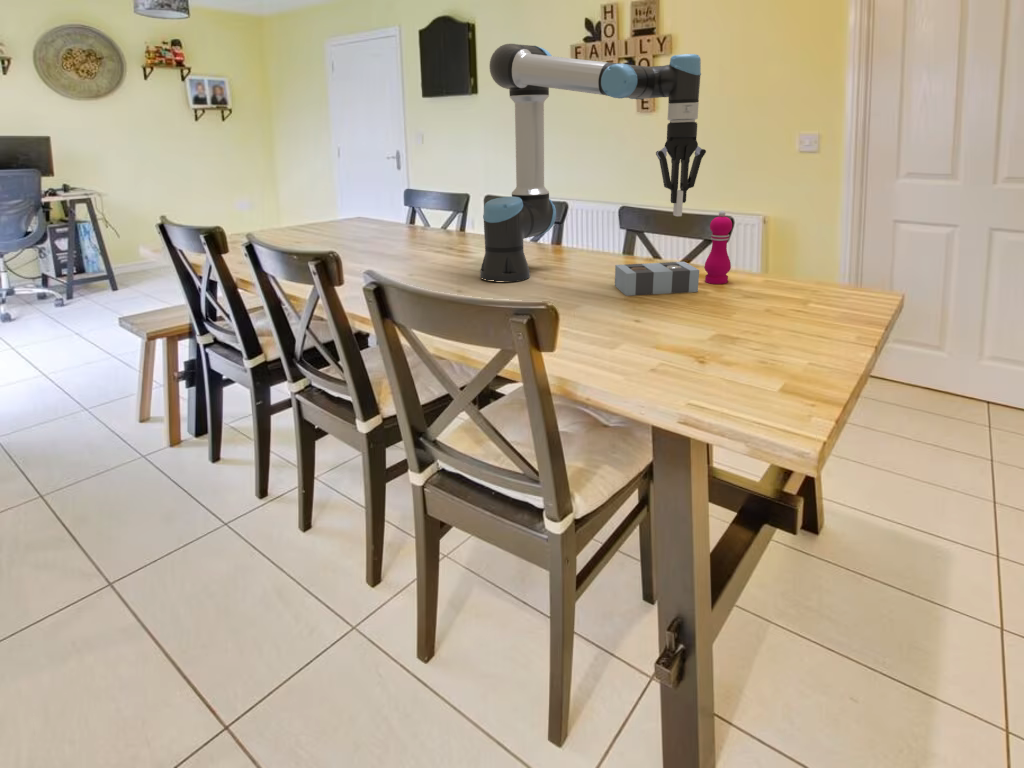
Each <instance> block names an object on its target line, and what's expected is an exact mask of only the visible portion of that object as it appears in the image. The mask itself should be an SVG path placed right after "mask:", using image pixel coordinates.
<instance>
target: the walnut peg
mask: <svg viewBox="0 0 1024 768" xmlns="http://www.w3.org/2000/svg"><path fill="white" fill-rule="evenodd" d="M631 270H646V268H644V267H633V268H631Z"/></svg>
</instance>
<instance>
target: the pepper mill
mask: <svg viewBox="0 0 1024 768" xmlns="http://www.w3.org/2000/svg"><path fill="white" fill-rule="evenodd" d="M732 229H733V222H732V220H731V219H730V218H729V217H728V216H726V211H725V210H720V211H718V216H717V217H714V218H713V219H712V220H711V222H710V223H709V230H710V231H711V233H712V234H710V240H711V249H710V252H709V255H708V256H707V258H706V260H705V263H704V270H705V271H706V273H707V274H706V275H705V278H704V281H705V283H707V284H712V285H722V284H727V283H728V281H729V276H728V275H727V274H728V273H729V272H730V270H731V267H732V265H731V264H732V263H731V259H730V256H729V254H728V250H727V249H728V247H727V246H728V241H729V240H730V234H729V233H730V232H731V231H732Z"/></svg>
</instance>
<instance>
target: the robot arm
mask: <svg viewBox="0 0 1024 768" xmlns="http://www.w3.org/2000/svg"><path fill="white" fill-rule="evenodd" d="M489 59H490V61H489V73H490V76H491V78H492V80H493V82H495V84H496V85H498V86H499V87H500V88H503V89H506V90H509V98H510V100H511V101H512V102H513V103H514V122H515V123H514V126H515V127H514V129H515V132H514V134H515V173H516V174H515V178H516V179H515V181H516V187H515V189H514V190H513V191H512V192H511V196H502V197H497V198H492V199H490V200H487V202H485V204H484V205H483V214H482V216H483V217H482V218H483V232H484V250H485V251H484V256H483V260H482V263H481V268H480V270H479V272H480V273H479V274H480V279H481V278H483V279H486V280H494V281H516V282H518V281H517V280H522V281H524V280H523V279H525V280H528V279H529V278H530V277H531V274H530V272H531V271H530V267H529V264H528V261H527V258H526V254H525V253H524V239H529V238H532V237H539V236H541V235H543V234H546V233H547V232H548V231H550V230H551V229H552V228H553V226H554V224H555V222H556V218H557V209H556V206H555V204H554V203H553V200H552V199H550V192H549V190H548V189H547V188H546V187H545V117H544V116H545V109H544V108H545V106H544V105H545V101H546V100H547V99H548V98H549V97H550V89H556V90H557V89H558V90H563V91H569V92H571V91H572V92H579V93H586V94H594V95H599V96H605V97H610V98H613V99H629V100H630V99H631V100H645V99H657V98H668V103H667V104H668V105H667V120H668V121H669V122H668V123H667V125H666V126H667V127H666V140H665V143H664V146H663V147H662V148H661V149H660V150H657V151H656V152H655V155H656V157H657V159H658V160H659V166H660V171H661V172H660V173H661V176H662V181H663V187H664V188H665V189H668V190H670V203H671V204H673V207H672V208H673V209H672V215H673V216H675V217H682V216H683V204H685V203H686V202H687V191H688V190H689V189H691V188H694V187H695V184H696V181H697V177H698V173H699V169H700V167H701V164H702V160H703V157H704V156H705V155H706V153H707V150H706V149H704V148H701V147H700V146H699V144H698V143H699V142H698V141H697V136H698V123H697V121H696V120H698V118H699V115H698V114H699V104H700V103H699V101H700V99H699V98H700V86H701V75H702V73H701V70H702V68H701V63H702V60H701V56H700V55H699V54H696V53H684V54H683V53H682V54H675V55H672V56H671V57H670V60H669V64H666V65H655V66H654V65H653V66H647V65H646V66H645V65H635V64H627V63H619V62H618V63H615V62H608V61H607V62H606V61H596V60H590V59H589V60H588V59H580V58H579V59H578V58H569V57H562V56H561V57H560V56H555V55H554V56H553V55H552V54H551V53H550V51H549V50H547V49H545V48H543V47H540V46H537V45H529V44H518V43H506V44H502V45H500V46H499V47H496V49H495V50H494V52H493V53H492V55H491V57H490V58H489ZM667 154H668V155H669V157H670V159H671V160H670V162H671V171H669V165H668V160H667ZM693 154H694V158H693V161H692V164H691V168H690V171H689V165H690V160H691V157H692V155H693ZM670 172H671V173H670ZM679 172H680V173H679ZM679 175H680V178H679ZM679 179H680V180H679ZM527 278H528V279H527Z"/></svg>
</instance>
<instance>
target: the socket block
mask: <svg viewBox="0 0 1024 768" xmlns="http://www.w3.org/2000/svg"><path fill="white" fill-rule="evenodd" d="M670 265H677V266H681V268H672V269H668V268H667V266H670ZM614 267H615V268H614V286H615V287H616V288H617V290H619V291H620V292H621V293H622V294H623V295H624V296H625V297H626V296H628V297H629V296H643V295H646V296H647V295H649V296H650V295H664V294H667V295H668V294H684V293H699V283H700V282H699V281H700V280H699V279H700V269H698V268H697V267H695V266H693V265H691V264H690V263H687V262H685V261H670V262H668V261H667V262H652V263H651V262H650V263H649V262H647V263H646V262H645V263H631V264H630V263H629V264H628V263H627V264H626V263H625V264H624V263H623V264H615V266H614ZM633 267H644V268H646V270H631V268H633Z"/></svg>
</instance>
